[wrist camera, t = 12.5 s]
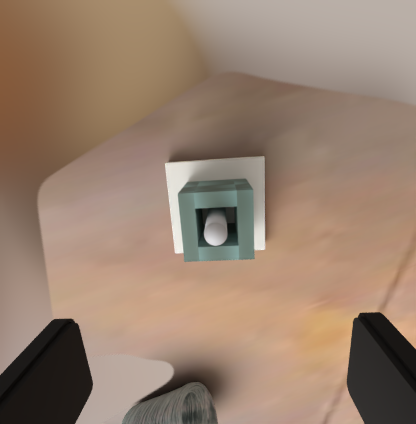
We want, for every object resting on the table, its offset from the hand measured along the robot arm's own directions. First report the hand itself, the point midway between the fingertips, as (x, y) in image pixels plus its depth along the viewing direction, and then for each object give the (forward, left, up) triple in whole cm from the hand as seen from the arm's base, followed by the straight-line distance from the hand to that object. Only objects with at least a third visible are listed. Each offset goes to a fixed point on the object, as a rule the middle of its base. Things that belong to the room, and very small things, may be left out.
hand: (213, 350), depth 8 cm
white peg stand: (0, 0, -20) cm, 20 cm away
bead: (0, 0, -19) cm, 19 cm away
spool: (+8, +29, -20) cm, 36 cm away
